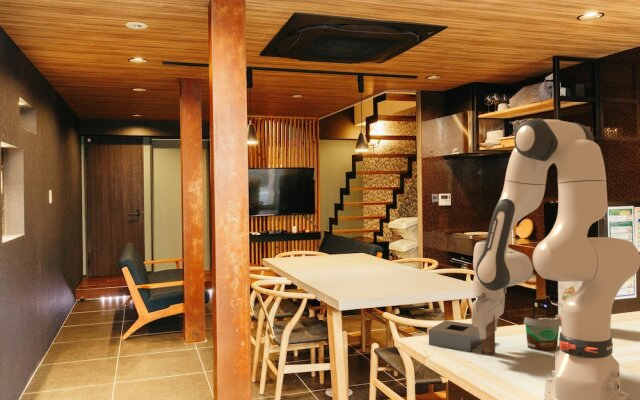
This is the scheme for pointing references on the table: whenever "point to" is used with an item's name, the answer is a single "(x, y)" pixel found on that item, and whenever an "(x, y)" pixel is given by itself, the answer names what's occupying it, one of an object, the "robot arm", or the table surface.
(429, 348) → the table surface
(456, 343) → the socket block
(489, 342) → the walnut peg
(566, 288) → the cracker box
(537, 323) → the food container
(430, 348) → the table surface
